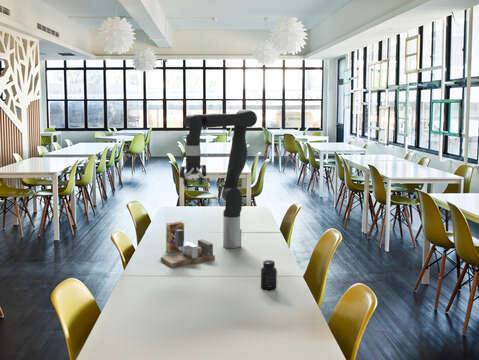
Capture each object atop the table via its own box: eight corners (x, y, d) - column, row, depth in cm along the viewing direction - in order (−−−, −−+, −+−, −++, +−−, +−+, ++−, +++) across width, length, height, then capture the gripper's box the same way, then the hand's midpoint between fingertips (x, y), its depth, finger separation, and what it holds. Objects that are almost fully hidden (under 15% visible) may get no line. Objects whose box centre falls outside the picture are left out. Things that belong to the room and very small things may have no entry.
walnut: (198, 252, 265) (198, 246, 264) (203, 255, 261) (203, 248, 261) (191, 254, 262) (191, 247, 262) (195, 256, 259) (195, 249, 258)
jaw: (188, 252, 265) (187, 226, 262) (197, 257, 256) (197, 230, 254) (172, 255, 260) (172, 228, 257) (181, 260, 251) (181, 232, 249)
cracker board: (202, 253, 271) (202, 238, 270) (214, 259, 261) (214, 244, 260) (161, 261, 258) (160, 245, 256) (172, 267, 248) (171, 251, 246)
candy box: (169, 253, 271) (169, 224, 268) (165, 250, 274) (165, 223, 272) (184, 250, 276) (184, 222, 273) (180, 248, 279) (180, 221, 277)
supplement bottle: (259, 285, 226) (260, 259, 224) (275, 285, 226) (275, 259, 224) (261, 291, 219) (262, 264, 217) (277, 291, 219) (278, 264, 217)
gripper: (201, 152, 270) (201, 183, 272) (177, 154, 262) (177, 185, 264) (208, 154, 264) (208, 185, 266) (184, 155, 256) (184, 187, 258)
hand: (193, 185), depth 265 cm, fingers open, 8 cm apart
